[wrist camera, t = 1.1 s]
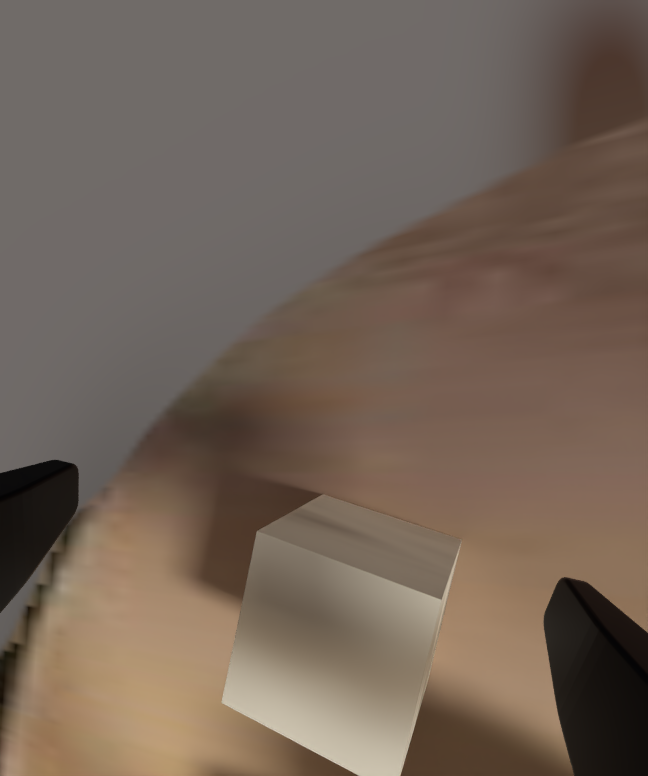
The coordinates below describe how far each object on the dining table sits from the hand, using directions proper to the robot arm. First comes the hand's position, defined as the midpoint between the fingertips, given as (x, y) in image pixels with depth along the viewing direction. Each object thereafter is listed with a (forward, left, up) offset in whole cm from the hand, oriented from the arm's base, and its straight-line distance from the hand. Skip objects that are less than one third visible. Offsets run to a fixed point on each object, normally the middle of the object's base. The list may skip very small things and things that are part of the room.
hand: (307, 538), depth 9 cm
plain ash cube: (-6, +1, -12) cm, 13 cm away
